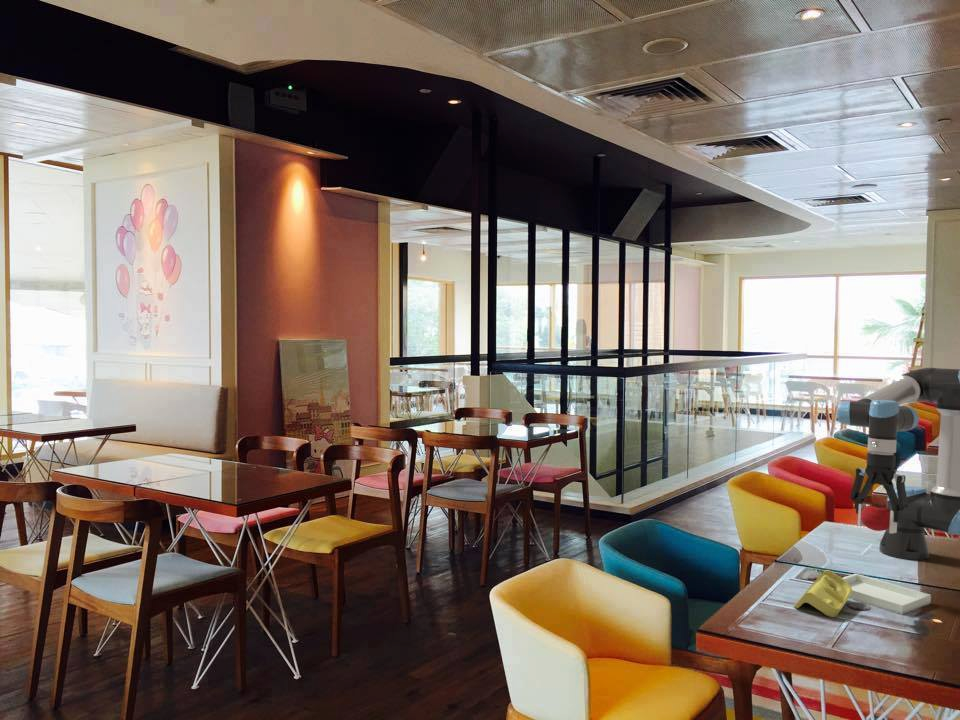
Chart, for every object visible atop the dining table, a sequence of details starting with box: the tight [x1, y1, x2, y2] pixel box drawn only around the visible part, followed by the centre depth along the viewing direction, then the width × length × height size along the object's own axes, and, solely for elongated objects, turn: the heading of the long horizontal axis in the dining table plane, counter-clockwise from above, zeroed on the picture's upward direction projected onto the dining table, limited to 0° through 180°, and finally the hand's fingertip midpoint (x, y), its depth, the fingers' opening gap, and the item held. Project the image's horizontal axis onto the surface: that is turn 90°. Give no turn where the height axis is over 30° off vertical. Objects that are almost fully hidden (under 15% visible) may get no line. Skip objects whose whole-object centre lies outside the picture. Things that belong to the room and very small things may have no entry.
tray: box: [841, 573, 932, 615], centre depth 228 cm, size 16×22×2 cm
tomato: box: [861, 502, 891, 532], centre depth 232 cm, size 9×9×8 cm
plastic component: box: [793, 569, 852, 618], centre depth 221 cm, size 20×7×10 cm
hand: (876, 528), depth 232 cm, fingers closed on tomato, 9 cm apart
